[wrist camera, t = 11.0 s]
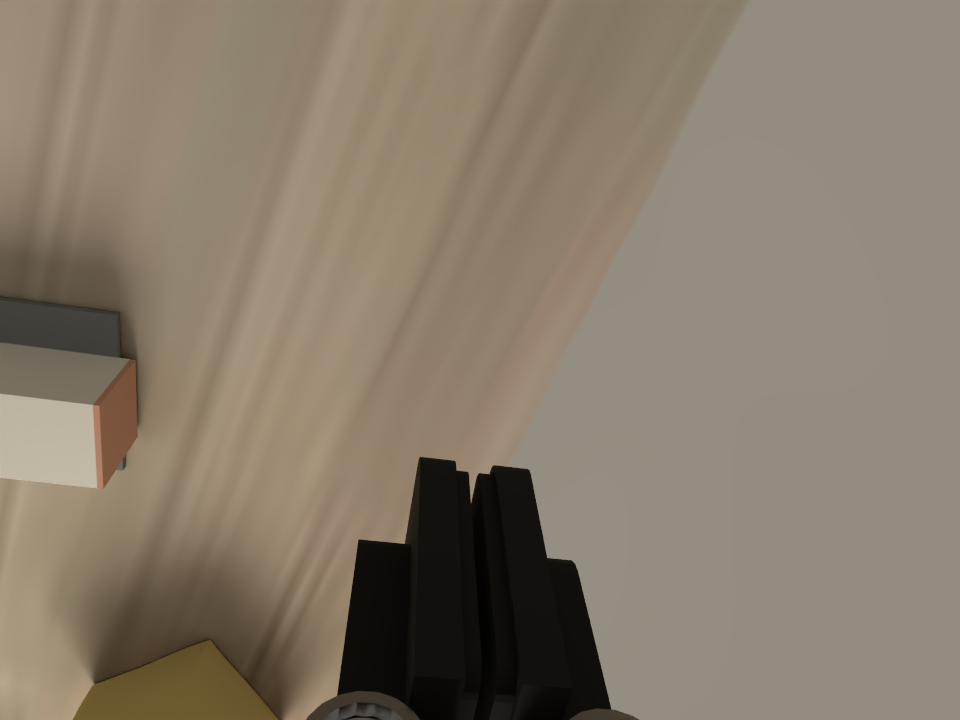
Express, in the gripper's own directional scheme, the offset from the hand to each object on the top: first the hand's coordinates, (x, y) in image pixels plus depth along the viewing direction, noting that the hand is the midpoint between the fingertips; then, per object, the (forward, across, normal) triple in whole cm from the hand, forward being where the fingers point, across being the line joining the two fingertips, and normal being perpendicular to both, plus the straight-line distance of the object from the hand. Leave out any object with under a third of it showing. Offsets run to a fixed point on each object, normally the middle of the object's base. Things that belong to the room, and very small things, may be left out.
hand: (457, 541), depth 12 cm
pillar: (+26, +15, +16) cm, 34 cm away
